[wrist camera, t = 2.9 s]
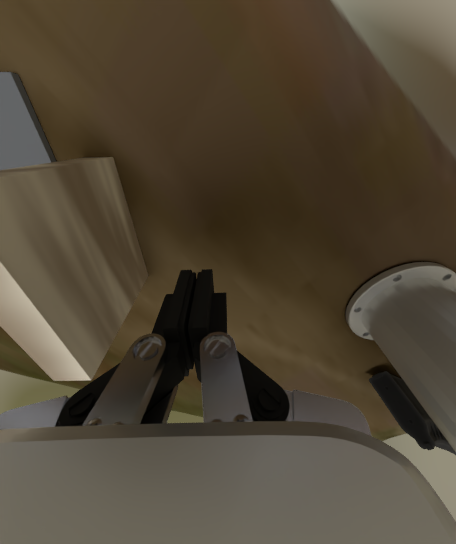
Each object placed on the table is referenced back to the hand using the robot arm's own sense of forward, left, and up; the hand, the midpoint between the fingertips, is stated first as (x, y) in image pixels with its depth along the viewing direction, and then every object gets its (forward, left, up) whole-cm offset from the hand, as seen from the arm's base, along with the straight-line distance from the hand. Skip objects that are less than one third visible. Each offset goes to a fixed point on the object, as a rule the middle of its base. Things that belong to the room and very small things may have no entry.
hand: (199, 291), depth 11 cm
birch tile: (+9, 0, -10) cm, 14 cm away
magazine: (-38, +36, -11) cm, 53 cm away
